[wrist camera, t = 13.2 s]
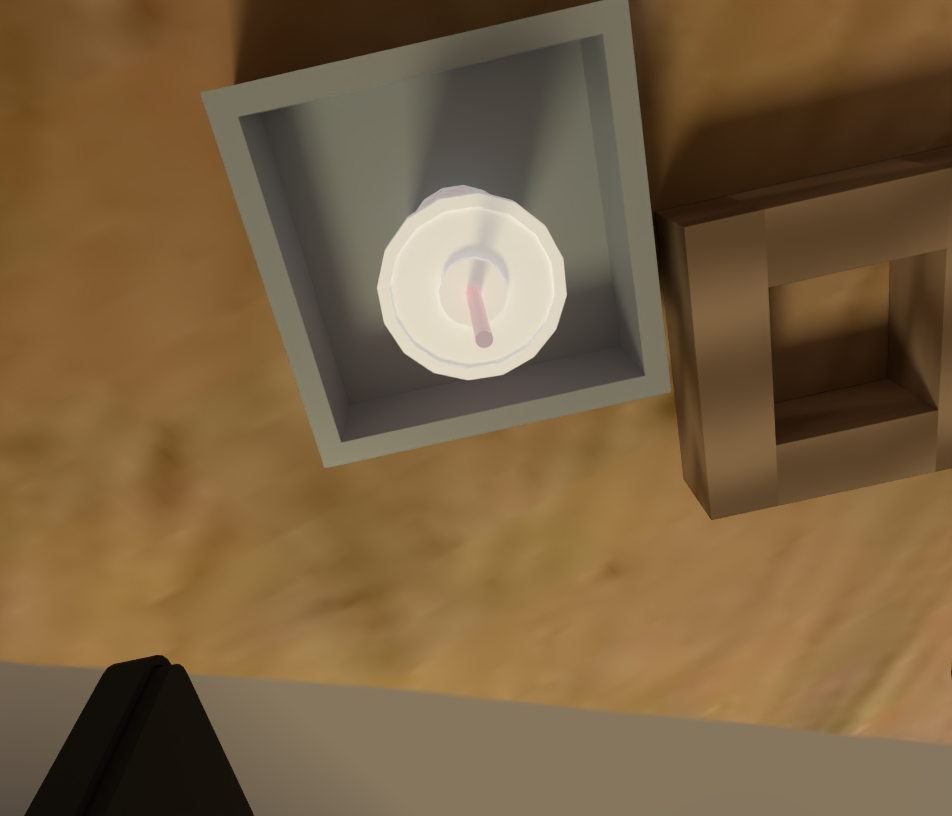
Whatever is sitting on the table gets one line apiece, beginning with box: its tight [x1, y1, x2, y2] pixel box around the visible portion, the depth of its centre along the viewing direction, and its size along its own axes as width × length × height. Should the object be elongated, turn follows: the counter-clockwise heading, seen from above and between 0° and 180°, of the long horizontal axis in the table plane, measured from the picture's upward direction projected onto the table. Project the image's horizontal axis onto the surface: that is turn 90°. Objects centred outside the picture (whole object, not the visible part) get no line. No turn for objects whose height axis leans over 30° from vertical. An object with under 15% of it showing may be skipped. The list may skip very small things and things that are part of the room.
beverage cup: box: [377, 185, 567, 380], centre depth 26 cm, size 6×6×14 cm
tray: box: [200, 0, 671, 468], centre depth 31 cm, size 15×15×5 cm
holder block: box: [655, 146, 952, 520], centre depth 34 cm, size 14×14×4 cm
